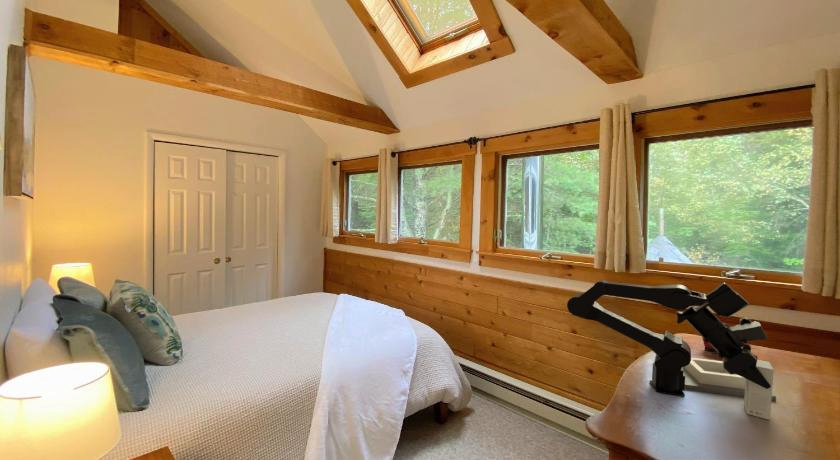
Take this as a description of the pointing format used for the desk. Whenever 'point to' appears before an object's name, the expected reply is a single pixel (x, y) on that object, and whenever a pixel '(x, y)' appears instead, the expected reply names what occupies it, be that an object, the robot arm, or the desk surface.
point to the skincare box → (759, 393)
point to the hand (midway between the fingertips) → (766, 382)
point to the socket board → (713, 378)
